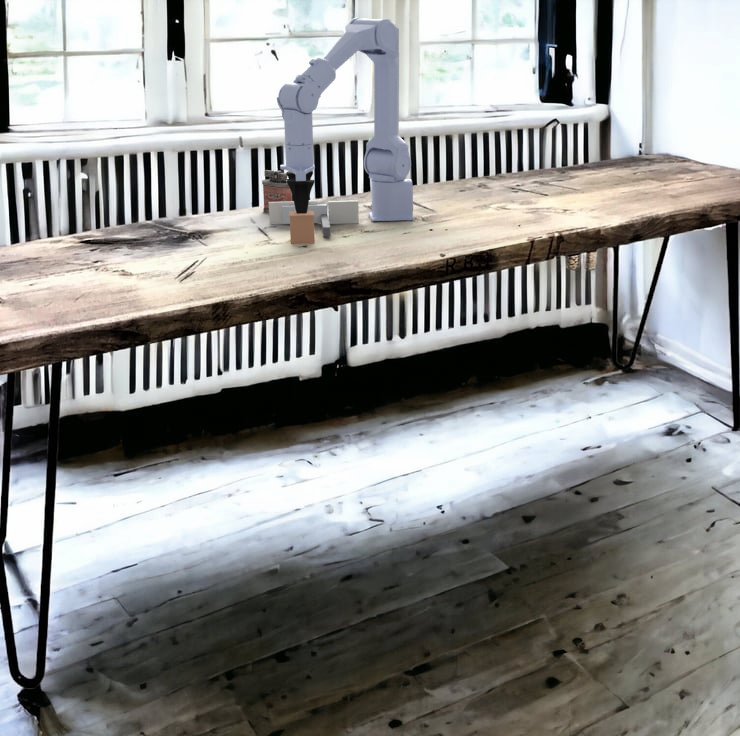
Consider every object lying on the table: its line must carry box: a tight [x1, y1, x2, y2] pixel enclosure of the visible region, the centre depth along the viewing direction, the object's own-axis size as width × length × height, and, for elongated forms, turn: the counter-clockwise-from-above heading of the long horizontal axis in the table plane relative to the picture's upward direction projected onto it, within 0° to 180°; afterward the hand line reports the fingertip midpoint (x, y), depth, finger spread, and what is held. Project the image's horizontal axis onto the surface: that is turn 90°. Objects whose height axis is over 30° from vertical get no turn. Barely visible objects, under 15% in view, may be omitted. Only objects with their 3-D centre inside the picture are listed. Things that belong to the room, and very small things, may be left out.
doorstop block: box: [289, 211, 316, 245], centre depth 217 cm, size 5×4×6 cm
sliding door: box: [282, 203, 331, 237], centre depth 226 cm, size 10×14×4 cm
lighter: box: [261, 169, 293, 215], centre depth 241 cm, size 8×3×10 cm, turn 58°
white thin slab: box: [268, 199, 360, 225], centre depth 232 cm, size 20×2×5 cm, turn 95°
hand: (301, 209), depth 216 cm, fingers open, 7 cm apart
